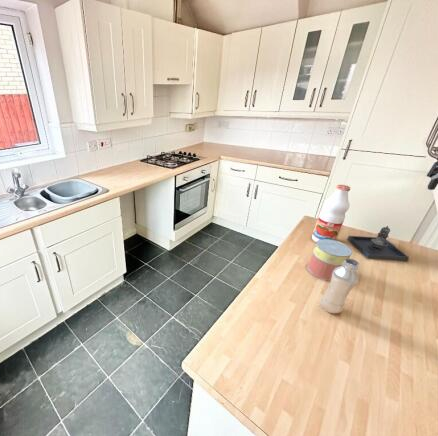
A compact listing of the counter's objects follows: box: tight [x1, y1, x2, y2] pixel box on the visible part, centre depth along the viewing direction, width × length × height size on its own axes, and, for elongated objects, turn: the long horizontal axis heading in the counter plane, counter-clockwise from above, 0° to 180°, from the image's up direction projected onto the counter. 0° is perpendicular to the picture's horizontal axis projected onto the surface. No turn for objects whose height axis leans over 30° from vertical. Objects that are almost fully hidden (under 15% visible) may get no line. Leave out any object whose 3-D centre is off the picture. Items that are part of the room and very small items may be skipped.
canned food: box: [307, 239, 353, 281], centre depth 96 cm, size 11×11×12 cm
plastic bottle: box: [319, 258, 360, 315], centre depth 77 cm, size 6×7×20 cm
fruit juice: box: [311, 184, 351, 243], centre depth 111 cm, size 9×9×28 cm
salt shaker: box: [368, 225, 391, 252], centre depth 107 cm, size 6×6×12 cm
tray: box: [347, 235, 410, 262], centre depth 110 cm, size 15×15×2 cm
